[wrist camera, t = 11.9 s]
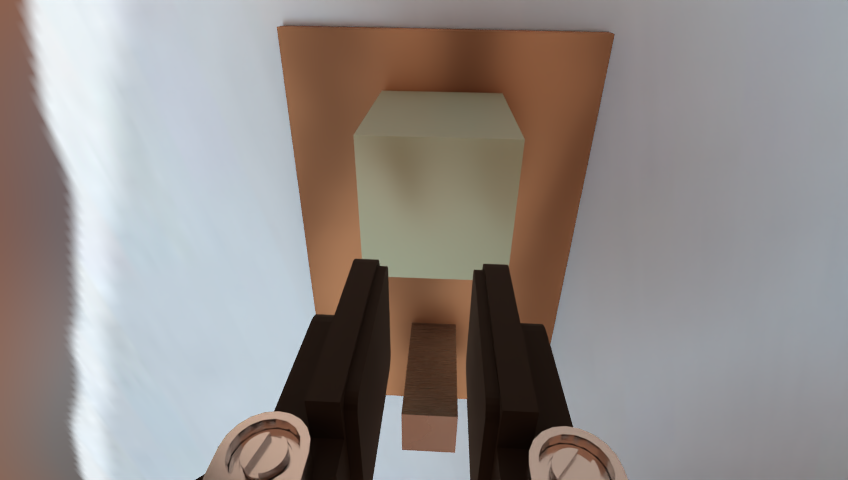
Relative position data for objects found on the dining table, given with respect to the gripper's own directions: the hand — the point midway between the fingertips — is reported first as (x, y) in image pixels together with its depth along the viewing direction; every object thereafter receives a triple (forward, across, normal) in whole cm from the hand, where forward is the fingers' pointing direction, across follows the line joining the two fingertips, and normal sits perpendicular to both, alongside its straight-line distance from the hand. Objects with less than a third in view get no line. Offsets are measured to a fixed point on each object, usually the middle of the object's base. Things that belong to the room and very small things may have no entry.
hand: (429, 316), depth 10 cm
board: (+13, 0, +6) cm, 14 cm away
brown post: (+12, 0, +12) cm, 17 cm away
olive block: (+12, 0, 0) cm, 12 cm away
